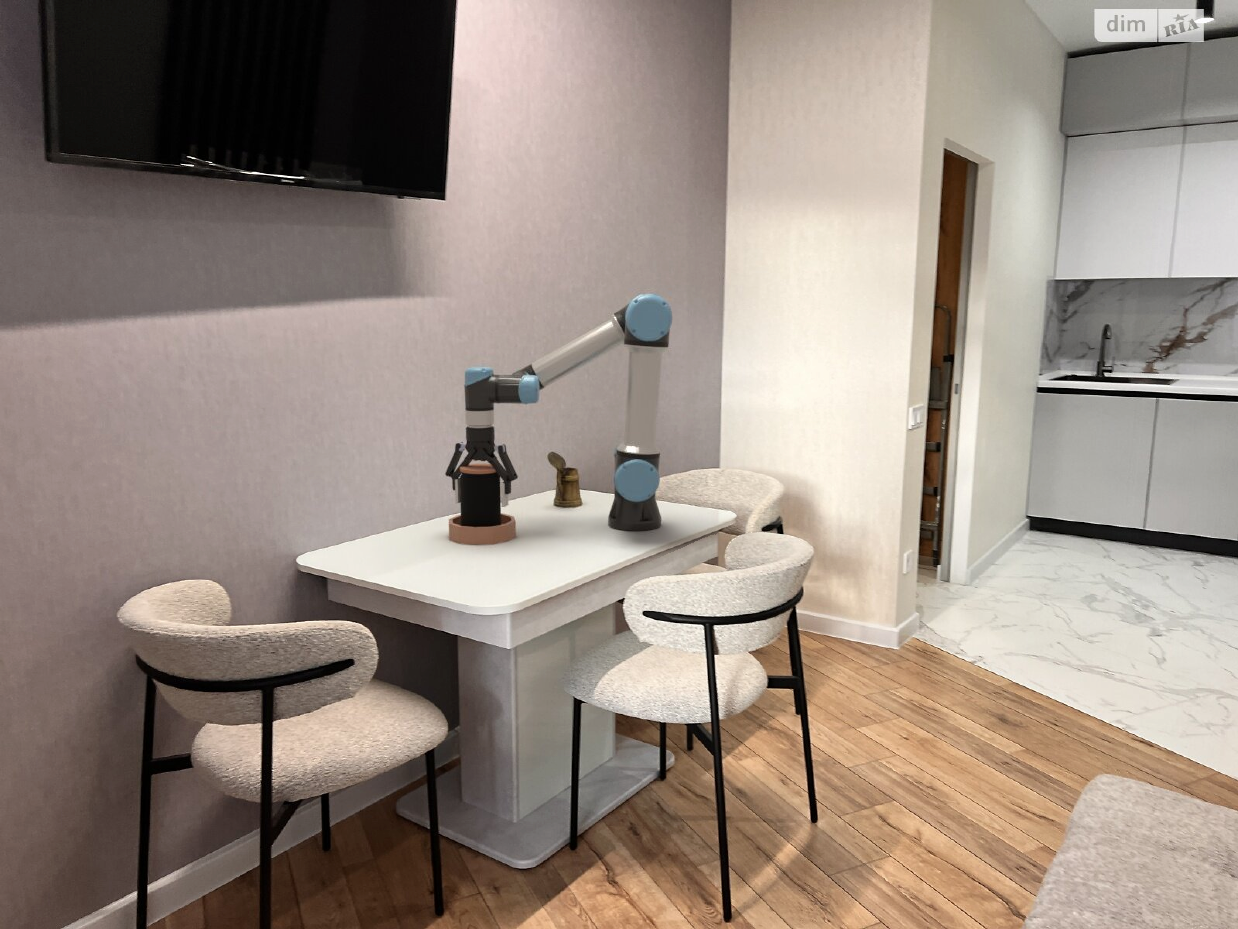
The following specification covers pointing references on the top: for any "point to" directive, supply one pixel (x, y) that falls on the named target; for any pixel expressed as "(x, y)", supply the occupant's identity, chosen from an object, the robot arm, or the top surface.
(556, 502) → the wooden mug
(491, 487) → the coffee jar
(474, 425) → the robot arm
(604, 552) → the top surface
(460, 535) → the terracotta bowl
